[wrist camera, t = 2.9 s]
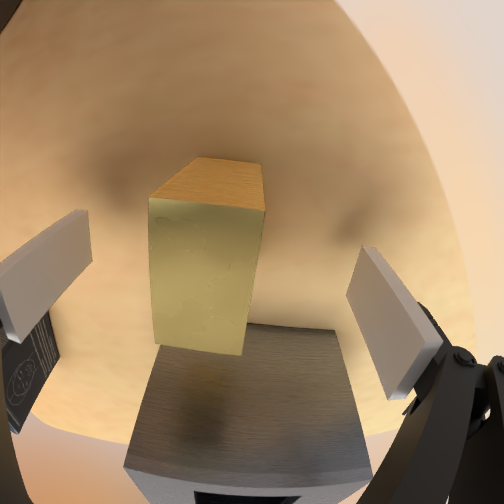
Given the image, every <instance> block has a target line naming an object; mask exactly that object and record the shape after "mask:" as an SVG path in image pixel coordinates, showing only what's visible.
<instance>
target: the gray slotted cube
mask: <svg viewBox="0 0 504 504" xmlns="http://www.w3.org/2000/svg"><path fill="white" fill-rule="evenodd" d="M123 467H124V469H125V470H126V472H127V473H128V475H129V476H130V478H131V479H132V480H133V481H134V483H135V484H136V486H137V487H138V488H139V490H140V491H141V492H142V493H143V495H144V496H145V497H146V499H147V500H148V501H149V502H150V504H338V503H339V502H341V501H342V500H344V499H345V498H347V497H349V496H350V495H352V494H353V493H355V492H356V491H358V490H359V489H360V488H362V487H363V486H365V485H366V484H368V483H369V482H371V480H372V479H373V474H372V469H371V465H370V460H369V455H368V451H367V447H366V443H365V439H364V434H363V430H362V426H361V422H360V418H359V415H358V411H357V407H356V403H355V399H354V396H353V392H352V388H351V385H350V381H349V377H348V374H347V370H346V367H345V363H344V360H343V357H342V353H341V350H340V346H339V343H338V340H337V336H336V333H335V331H334V330H318V329H304V328H292V327H280V326H270V325H260V324H251V323H247V325H246V331H245V337H244V342H243V348H242V354H241V356H237V355H228V354H220V353H213V352H205V351H198V350H191V349H185V348H179V347H173V346H167V345H160V348H159V351H158V354H157V357H156V360H155V363H154V366H153V369H152V372H151V375H150V378H149V381H148V384H147V387H146V390H145V393H144V397H143V400H142V403H141V406H140V410H139V413H138V416H137V420H136V423H135V426H134V430H133V433H132V437H131V440H130V444H129V448H128V451H127V454H126V458H125V462H124V466H123Z"/></svg>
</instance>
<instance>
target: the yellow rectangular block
mask: <svg viewBox="0 0 504 504" xmlns="http://www.w3.org/2000/svg"><path fill="white" fill-rule="evenodd" d="M264 216H265V202H264V192H263V182H262V172H261V164H257V163H249V162H242V161H234V160H225V159H216V158H206V157H196V158H195V159H194V160H193V161H191V162H190V163H189V164H188V165H186V166H185V167H184V168H183V169H181V170H180V171H179V172H178V173H177V174H175V175H174V176H173V177H172V178H171V179H169V180H168V181H167V182H166V183H165V184H163V185H162V186H161V187H160V188H159V189H158V190H156V191H155V192H154V193H153V194H152V195H151V196H150V197H149V199H148V238H149V270H150V289H151V304H152V316H153V327H154V337H155V343H156V344H161V345H167V346H173V347H179V348H185V349H191V350H198V351H205V352H213V353H220V354H228V355H237V356H241V354H242V348H243V342H244V337H245V331H246V325H247V319H248V313H249V307H250V301H251V295H252V289H253V283H254V277H255V271H256V265H257V259H258V253H259V247H260V240H261V234H262V228H263V222H264Z"/></svg>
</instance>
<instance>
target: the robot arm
mask: <svg viewBox="0 0 504 504" xmlns="http://www.w3.org/2000/svg"><path fill="white" fill-rule="evenodd" d="M20 1H21V0H0V31H1V30H2V28H3V27H4V25H5V24H6V23H7V21H8V20H9V18H10V17H11V15H12V13H13V12H14V10H15V9H16V7H17V6H18V4H19V2H20ZM92 261H93V260H92V252H91V242H90V232H89V218H88V211H86V210H74V211H73V212H71V213H69V214H68V215H66V216H65V217H63V218H62V219H60V220H59V221H57V222H56V223H54V224H53V225H51V226H50V227H48V228H47V229H45V230H44V231H42V232H41V233H40V234H38V235H37V236H35V237H34V238H33V239H31V240H30V241H28V242H27V243H26V244H24V245H23V246H22V247H20V248H19V249H18V250H16V251H15V252H14V253H12V254H11V255H10V256H8V257H7V258H6V259H5V260H3V261H2V262H1V263H0V329H1V327H2V326H3V328H4V330H5V333H6V335H7V337H8V338H9V339H11V340H13V341H15V342H18V343H20V344H21V343H22V342H23V340H24V339H25V338H26V337H27V335H28V334H29V333H30V331H31V330H32V329H33V328H34V326H35V325H36V324H37V323H38V322H39V320H40V319H41V318H42V317H43V315H44V314H45V313H46V312H47V311H48V310H49V308H50V307H51V306H52V305H53V304H54V303H55V301H56V300H57V299H58V298H59V297H60V296H61V295H62V293H63V292H64V291H65V290H66V289H67V288H68V287H69V286H70V285H71V283H72V282H73V281H74V280H75V279H76V278H77V277H78V276H79V275H80V274H81V273H82V272H83V271H84V269H85V268H86V267H87V266H88V265H89V264H90V263H91V262H92ZM346 297H347V299H348V301H349V304H350V306H351V308H352V311H353V313H354V315H355V318H356V320H357V322H358V325H359V327H360V330H361V332H362V334H363V337H364V339H365V342H366V344H367V347H368V349H369V352H370V355H371V357H372V360H373V362H374V365H375V367H376V370H377V373H378V375H379V378H380V381H381V383H382V386H383V389H384V392H385V394H386V397H387V400H397V399H405V398H406V397H407V395H408V394H409V393H410V391H411V390H412V389H413V387H414V390H415V392H416V394H417V396H416V397H415V398H414V400H413V401H412V402H411V403H410V405H409V406H408V407H407V409H406V410H405V411H404V412H403V413H402V415H405V414H406V413H407V414H406V416H405V418H404V421H403V423H402V425H401V427H400V429H399V431H398V433H397V435H396V437H395V439H394V441H393V443H392V445H391V447H390V449H389V451H388V453H387V454H386V456H385V458H384V460H383V462H382V464H381V465H380V467H379V469H378V471H377V472H376V474H375V475H374V477H373V479H372V480H371V482H370V484H369V485H368V487H367V488H366V490H365V491H364V493H363V494H362V496H361V497H360V499H359V500H358V502H357V503H356V504H446V501H447V499H448V496H449V501H448V504H504V357H502V356H494V357H493V358H492V360H491V361H490V363H489V364H488V365H487V366H486V365H482V364H477V361H476V359H475V358H474V356H473V355H472V354H471V353H470V352H469V351H467V350H466V349H464V348H462V347H459V346H452V344H451V343H450V341H449V340H448V338H447V337H446V335H445V334H444V332H443V331H442V329H441V328H440V326H438V324H437V322H436V321H435V319H433V316H432V315H431V314H430V312H429V311H428V309H426V308H425V307H424V306H423V305H422V304H420V303H419V302H416V300H415V299H414V297H413V296H412V295H411V293H410V292H409V290H408V289H407V288H406V286H405V285H404V284H403V282H402V281H401V280H400V278H399V277H398V276H397V274H396V273H395V272H394V270H393V269H392V268H391V267H390V265H389V264H388V263H387V261H386V260H385V259H384V258H383V256H382V255H381V254H380V253H379V251H378V250H377V249H376V248H373V247H366V246H362V247H361V250H360V253H359V257H358V260H357V263H356V266H355V269H354V272H353V275H352V279H351V282H350V285H349V287H348V290H347V293H346ZM489 409H490V416H489V417H488V418H487V419H485V413H486V412H487V411H488V410H489ZM0 504H34V503H33V502H32V501H31V499H30V498H29V496H28V494H27V491H26V489H25V486H24V482H23V479H22V476H21V473H20V470H19V466H18V462H17V458H16V455H15V450H14V446H13V442H12V438H11V432H10V427H9V421H8V415H7V409H6V402H5V394H4V384H3V372H2V352H1V336H0Z"/></svg>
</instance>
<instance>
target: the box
mask: <svg viewBox="0 0 504 504" xmlns="http://www.w3.org/2000/svg"><path fill="white" fill-rule="evenodd" d="M0 336H1V352H2V372H3V384H4V394H5V402H6V409H7V415H8V421H9V427H10V431H12V432H14V433H15V434H19V433H20V431H21V428H22V426H23V424H24V422H25V420H26V418H27V416H28V414H29V412H30V410H31V408H32V406H33V404H34V402H35V400H36V398H37V396H38V395H39V393H40V391H41V389H42V387H43V385H44V384H45V382H46V380H47V378H48V377H49V375H50V373H51V371H52V370H53V368H54V366H55V365H56V363H57V361H58V360H59V354H58V351H57V347H56V344H55V340H54V337H53V333H52V329H51V325H50V321H49V317H48V312H46V313H45V314H44V315H43V317H42V318H41V319H40V320H39V322H38V323H37V324H36V325H35V326H34V328H33V329H32V330H31V331H30V333H29V334H28V335H27V337H26V338H25V339H24V340H23V342H22V343H21V344H20V343H18V342H15V341H13V340H11V339H9V338H8V337H7V335H6V333H5V330H4V328H3V326H2V327H1V329H0Z"/></svg>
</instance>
